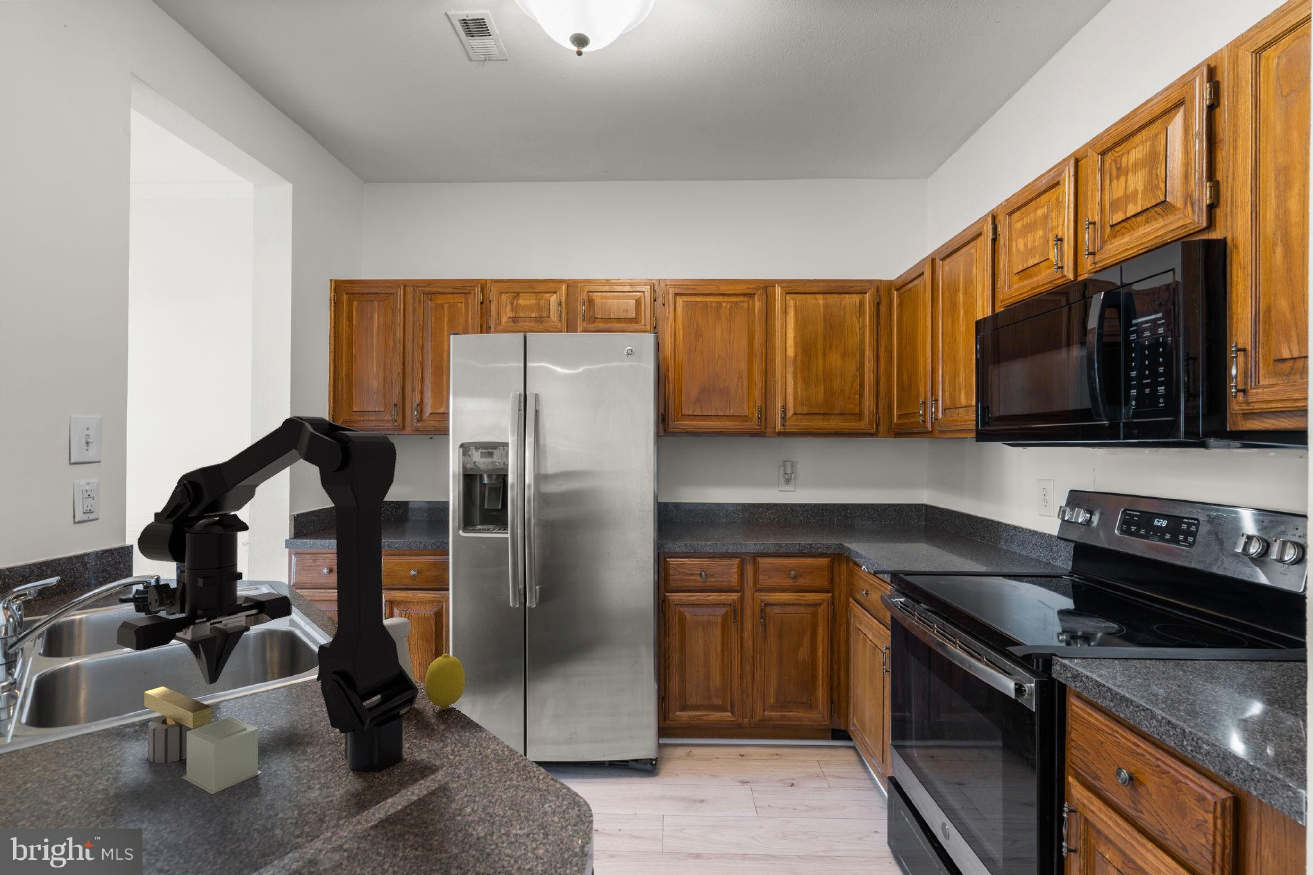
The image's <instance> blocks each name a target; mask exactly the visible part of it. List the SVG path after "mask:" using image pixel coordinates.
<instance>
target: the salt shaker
mask: <svg viewBox="0 0 1313 875" xmlns="http://www.w3.org/2000/svg"><path fill="white" fill-rule="evenodd" d="M383 623H384V625H385V627H386V628H387V630H388V631H389V633H390V634H391V636H392V637H393V639H394V640H395V642H396V646H397V652H398V659H399V663H400V665H401V666H402V668H403V669H404V670H405V672H406V673H407V674H408V676H409V677H410V679H411V680H412V681H413V683H414V684H415V685H416V681H415V677H414V671H413V670H414V669H413V666H412V660H411V659H412V658H411V654H410V649H409V648H410V647H409V642H408V638H407V637H408V636H409V635H410V633H411V631H412V624H411V621H410V620H409V619H408V618H406V617H400V616H399V617H397V616H396V617H390V618H387V619H383ZM379 697H381V696H380V695H378V696H376V697H374V698H372V701H374V700H376V699H377V698H379ZM410 708H411V706H409V707H407V708H406V709H404V710H402V711H400V715H402V714H406V713H407V711H408V710H409V709H410Z"/></svg>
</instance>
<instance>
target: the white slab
mask: <svg viewBox="0 0 1313 875" xmlns="http://www.w3.org/2000/svg"><path fill="white" fill-rule="evenodd" d="M205 725H206V724H205ZM205 725H202V726H205ZM202 726H199V727H202ZM199 727H196V728H199ZM196 728H193V729H196ZM193 729H192V728H190V727H188V726H186V725H183V724H181V723H177V724H171V725H167V717H166V716H164V715H162V714H161V716H157V717H155V718H154V719H152V720H151V721H149V723H148V725H147V761H149V762H151V763H154V764H165V763H172V762H179V761H180V759H182V760H185V759H187V731H190V730H193ZM261 774H263V771H262V770H261V771H260V770H259V769H258V773H256V774H254V775H251V776H249V777H247V778H244V779H242V780H240V781H237V782H235V783H233V784H230V785H228V786H226V787H223V788H221V789H219V790H216V791H213V790H211V789H209V788H207V787H205V786H203V785H201V784H200V783H198V782H196V781H194V780H192V779H190V778H189V777H187V776H186V775H183V776H181V778H182V779H184V781H187V782H189V783H191V784H193V785H194V786H197V787H198V788H200V789H201V790H202V791H206V792H207V793H208V794H211V795H214V794H216V793H218V792H220V791H222V790H225V789H227V788H230V787H232V786H234V785H237V784H239V783H242V782H244V781H247V780H249V779H251V778H254V777H255V776H257V775H261Z"/></svg>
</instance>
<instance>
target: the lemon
mask: <svg viewBox="0 0 1313 875" xmlns="http://www.w3.org/2000/svg"><path fill="white" fill-rule="evenodd" d="M465 688H466V672H465V668H464V666H463V664H462V662H461V660H459V659H458V658H457V657H455V656H453V655H449V654H448V653H443V654H442V655H441V656H439V657H437V658H436V659H434V660H433V661H432V662H431V663H430V665H429V666H428V668H427V670H426V674H425V679H424V689H425V693H426V697H427V699H428V700H429V701H430V702H431V703H432V704H433V705H435V706H437V707H440V708H441V709H442V710H443V711H444V710H448V708H450V706H451V705H454V704H455V703H456V702H458V701H459V700H460V698H461V697H462V695H463V694H464V691H465ZM448 704H449V705H450V706H449V705H448Z"/></svg>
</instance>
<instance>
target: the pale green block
mask: <svg viewBox="0 0 1313 875" xmlns="http://www.w3.org/2000/svg"><path fill="white" fill-rule="evenodd" d="M258 766H259V728H258V727H256V726H253V725H250V724H248V723H245V722H243V721H241V720H239V719H236V718H234V717H231V716H229V717H225V718H223V719H219V720H217V721H214V722H211V723H208V724H205V726H202V727H199V728H196V729H193V730H190V731H187V758H186V774H185V776H187V777H189V778H190V779H192V780H194V781H196V782H198V783H200V784H201V785H203V786H205V787H207V788H209V789H211V790H213V791H216V790H219V789H221V788H223V787H226V786H228V785H230V784H233V783H235V782H237V781H240V780H242V779H244V778H247V777H249V776H251V775H254V774H256V773H258V770H259V767H258Z"/></svg>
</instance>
